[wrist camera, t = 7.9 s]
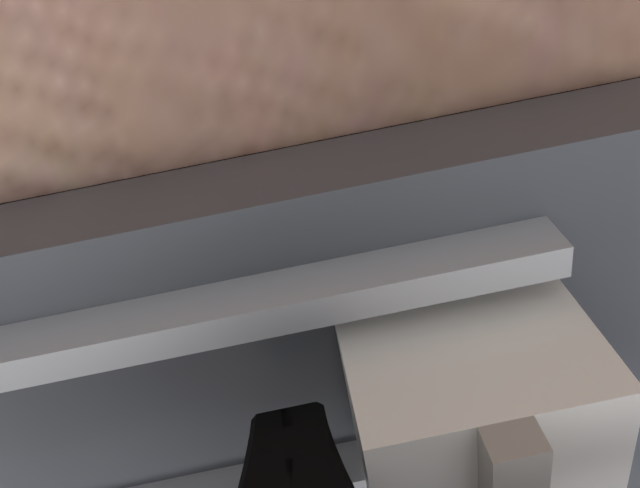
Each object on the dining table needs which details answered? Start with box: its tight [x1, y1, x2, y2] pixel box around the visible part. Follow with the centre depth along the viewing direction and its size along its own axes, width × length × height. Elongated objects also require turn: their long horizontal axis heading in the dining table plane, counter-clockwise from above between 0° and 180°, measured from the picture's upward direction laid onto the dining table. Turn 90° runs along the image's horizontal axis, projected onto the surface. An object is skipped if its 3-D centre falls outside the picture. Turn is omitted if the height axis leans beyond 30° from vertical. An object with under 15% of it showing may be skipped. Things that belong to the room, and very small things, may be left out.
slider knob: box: [335, 279, 640, 488], centre depth 10 cm, size 4×3×4 cm
